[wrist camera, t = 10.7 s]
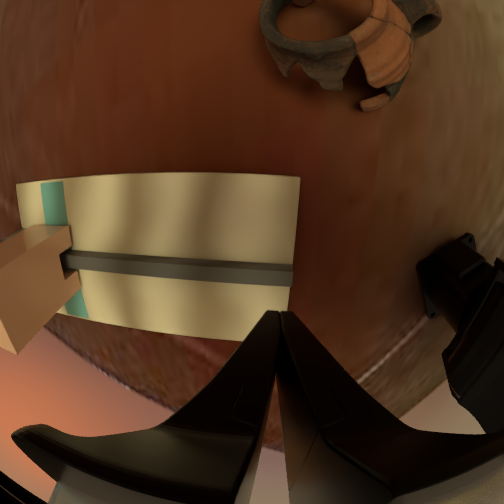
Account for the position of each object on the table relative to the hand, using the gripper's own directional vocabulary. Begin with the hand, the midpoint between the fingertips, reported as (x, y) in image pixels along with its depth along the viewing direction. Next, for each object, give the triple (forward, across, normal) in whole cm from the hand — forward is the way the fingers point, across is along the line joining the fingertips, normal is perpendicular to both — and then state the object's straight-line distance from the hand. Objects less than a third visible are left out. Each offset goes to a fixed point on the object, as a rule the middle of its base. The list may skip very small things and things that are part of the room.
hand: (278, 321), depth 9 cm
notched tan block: (+11, +20, +4) cm, 23 cm away
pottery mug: (+12, -5, -13) cm, 19 cm away
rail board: (+12, +11, +4) cm, 17 cm away
